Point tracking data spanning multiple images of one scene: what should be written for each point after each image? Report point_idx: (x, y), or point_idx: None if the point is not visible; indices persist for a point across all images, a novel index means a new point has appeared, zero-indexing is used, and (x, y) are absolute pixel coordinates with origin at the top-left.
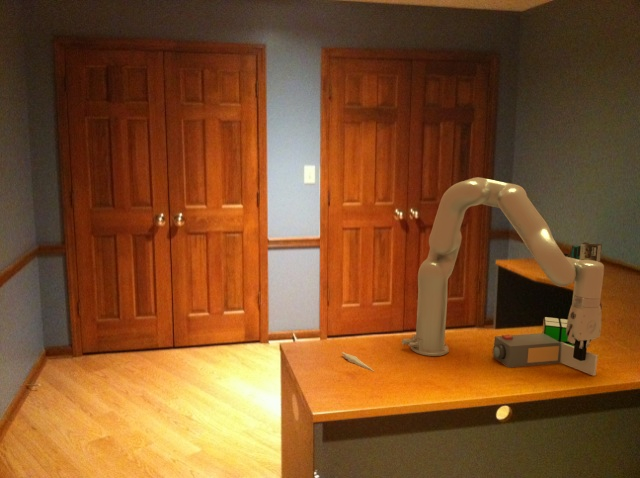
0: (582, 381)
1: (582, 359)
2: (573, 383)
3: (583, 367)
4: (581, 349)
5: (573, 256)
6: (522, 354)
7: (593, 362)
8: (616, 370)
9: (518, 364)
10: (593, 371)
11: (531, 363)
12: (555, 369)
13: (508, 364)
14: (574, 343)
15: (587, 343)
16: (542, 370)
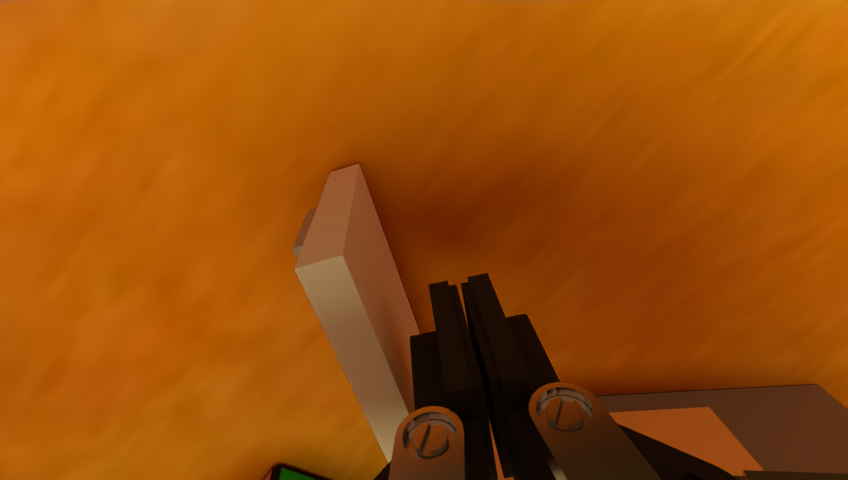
0: (531, 93)
1: (479, 281)
2: (643, 71)
3: (391, 273)
4: (527, 383)
5: None
6: (801, 463)
7: (358, 227)
8: (46, 243)
9: (763, 400)
10: (359, 180)
11: (670, 404)
12: (555, 327)
13: (833, 402)
14: (743, 473)
15: (433, 477)
16: (656, 325)
